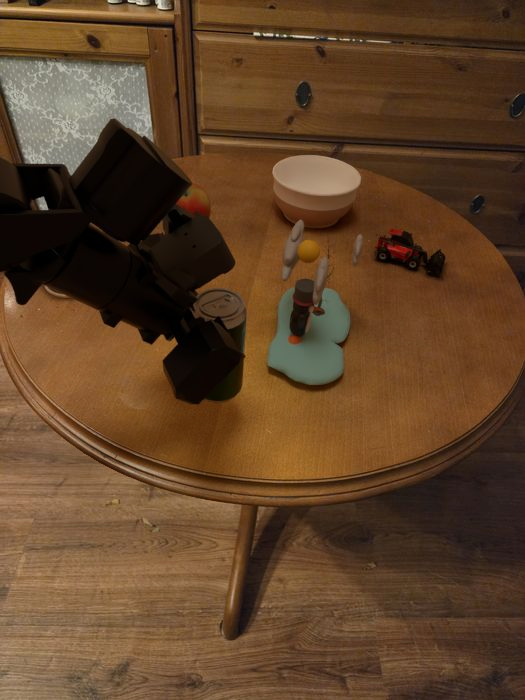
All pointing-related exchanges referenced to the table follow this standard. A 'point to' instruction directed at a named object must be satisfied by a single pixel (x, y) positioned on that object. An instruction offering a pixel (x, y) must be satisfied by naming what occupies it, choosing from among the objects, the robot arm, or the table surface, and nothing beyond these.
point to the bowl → (314, 189)
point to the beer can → (234, 319)
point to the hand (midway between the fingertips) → (231, 341)
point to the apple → (196, 200)
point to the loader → (408, 252)
